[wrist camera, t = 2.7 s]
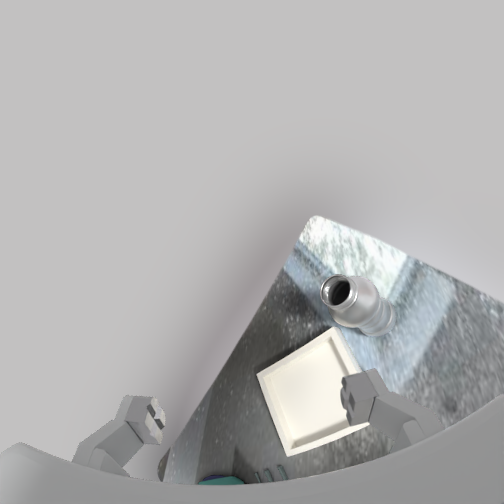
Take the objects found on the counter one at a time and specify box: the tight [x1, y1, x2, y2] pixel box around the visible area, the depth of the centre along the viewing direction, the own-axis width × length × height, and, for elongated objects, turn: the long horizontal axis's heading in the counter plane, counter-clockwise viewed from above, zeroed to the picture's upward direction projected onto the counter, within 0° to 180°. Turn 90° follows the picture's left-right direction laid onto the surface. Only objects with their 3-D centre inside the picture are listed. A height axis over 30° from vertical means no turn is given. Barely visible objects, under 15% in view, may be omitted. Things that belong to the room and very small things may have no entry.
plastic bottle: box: [320, 274, 396, 337], centre depth 34 cm, size 6×7×20 cm
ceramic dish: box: [256, 326, 369, 457], centre depth 41 cm, size 18×18×3 cm
